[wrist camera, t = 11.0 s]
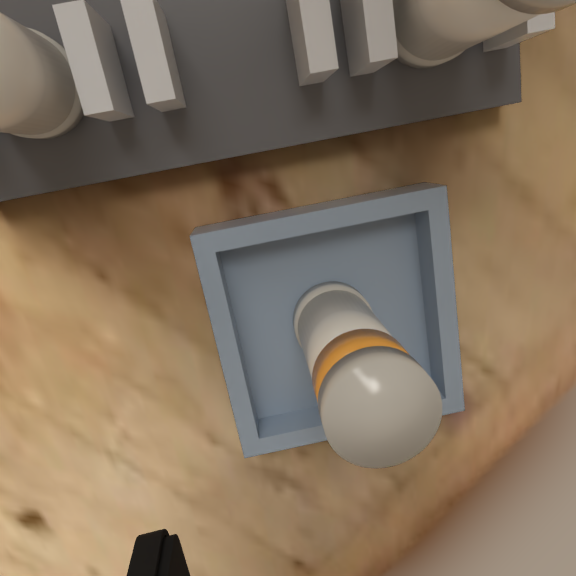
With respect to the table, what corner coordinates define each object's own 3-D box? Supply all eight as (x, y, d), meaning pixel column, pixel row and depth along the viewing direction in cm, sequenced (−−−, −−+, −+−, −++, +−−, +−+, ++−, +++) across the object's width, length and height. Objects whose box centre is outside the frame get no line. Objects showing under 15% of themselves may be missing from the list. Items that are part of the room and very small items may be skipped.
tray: (444, 386, 23) (464, 410, 21) (244, 429, 22) (244, 458, 20) (425, 181, 20) (446, 185, 18) (195, 227, 20) (189, 236, 17)
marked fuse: (363, 274, 20) (436, 349, 13) (372, 345, 21) (447, 454, 14) (286, 289, 20) (314, 375, 12) (299, 359, 21) (333, 479, 13)
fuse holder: (500, 105, 19) (570, 93, 15) (-6, 202, 19) (-76, 216, 14) (491, -92, 17) (569, -169, 13) (-77, 6, 17) (-182, -42, 12)
